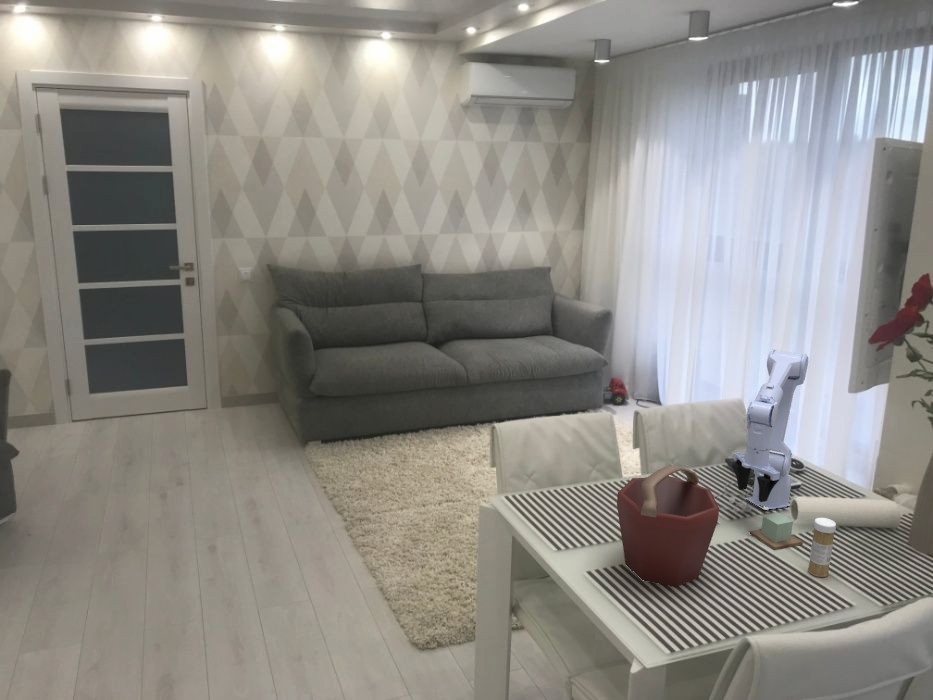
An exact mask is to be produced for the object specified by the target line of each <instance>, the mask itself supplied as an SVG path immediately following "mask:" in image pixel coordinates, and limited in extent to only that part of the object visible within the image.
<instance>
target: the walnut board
mask: <svg viewBox="0 0 933 700" xmlns="http://www.w3.org/2000/svg"><path fill="white" fill-rule="evenodd" d="M761 530H762V528H759V529H752V530H749V535H751V536H752V537H754V538H755V539H757V540H758V541H760V542H762V543H763V544H764V545H766V546H767V547H769V548H770V549H771V550H773V551H778V550H782V549H783V550H784V549H787V548H791V547H797V546H801V544H802V545H803V543H804V542H803V541H802V540H801V539H799V538H798V537H796V536H795V535H793V534H791V539H789V540H785V541H780V542H776V543H775V542H774V541H772V540H771V539H769V538H767V537H766V536H764V535H763V534H761Z"/></svg>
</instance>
